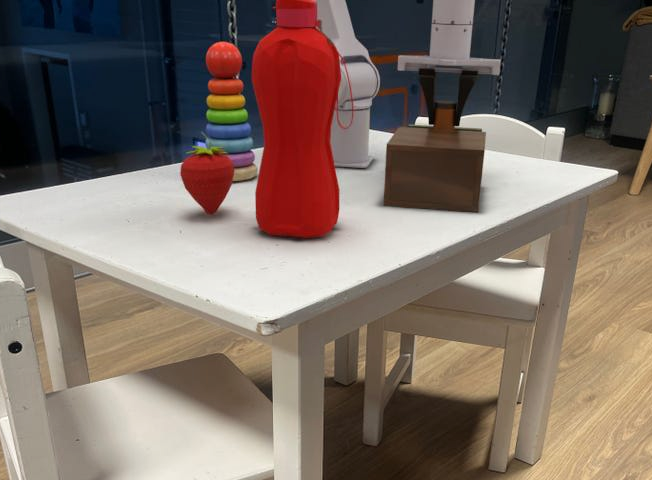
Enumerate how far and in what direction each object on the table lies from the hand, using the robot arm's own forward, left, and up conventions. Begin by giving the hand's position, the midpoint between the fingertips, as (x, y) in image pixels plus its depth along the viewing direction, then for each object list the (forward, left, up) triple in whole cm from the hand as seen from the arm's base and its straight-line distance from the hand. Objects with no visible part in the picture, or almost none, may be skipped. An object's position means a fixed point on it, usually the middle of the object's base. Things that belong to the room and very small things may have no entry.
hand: (443, 124), depth 107 cm
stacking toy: (-31, -7, -8) cm, 33 cm away
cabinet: (0, -10, -8) cm, 13 cm away
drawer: (0, +1, -7) cm, 7 cm away
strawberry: (-27, -27, -8) cm, 39 cm away
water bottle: (-14, -30, -8) cm, 34 cm away
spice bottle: (0, 0, -1) cm, 1 cm away
